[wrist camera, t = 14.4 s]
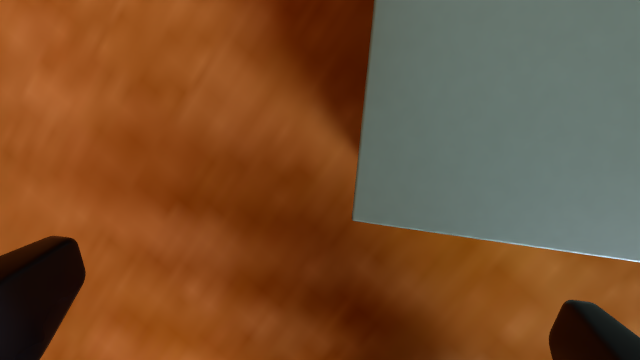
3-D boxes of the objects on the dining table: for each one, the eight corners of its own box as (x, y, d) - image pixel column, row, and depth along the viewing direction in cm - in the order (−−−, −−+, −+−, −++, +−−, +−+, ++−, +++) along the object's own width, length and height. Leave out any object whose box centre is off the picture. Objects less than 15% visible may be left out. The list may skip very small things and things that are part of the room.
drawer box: (397, -70, 16) (390, -165, 10) (758, -62, 14) (1060, -178, 8) (370, 170, 19) (351, 221, 12) (670, 206, 17) (837, 292, 10)
